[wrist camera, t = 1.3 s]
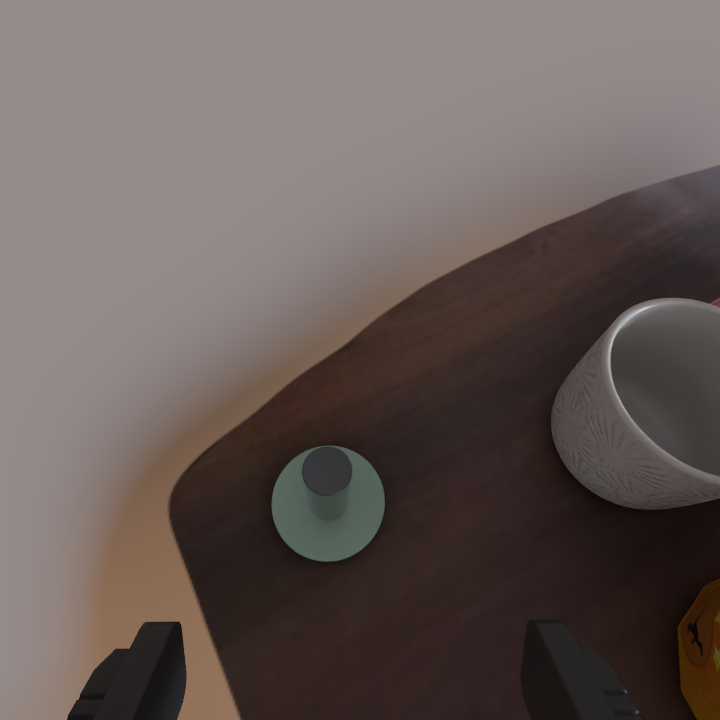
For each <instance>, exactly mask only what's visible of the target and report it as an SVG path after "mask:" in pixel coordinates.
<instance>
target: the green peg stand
mask: <svg viewBox="0 0 720 720" xmlns="http://www.w3.org/2000/svg"><path fill="white" fill-rule="evenodd" d="M271 507H272V516H273V520H274V523H275V526H276V529H277V531H278V533H279V534H280V536H281V537H282V539H283V540H284V542H285V543H286V544H287V545H288V546H289V547H290V548H291V549H292V550H294V551H295V552H296V553H298V554H299V555H301V556H303V557H305V558H308V559H310V560H314V561H319V562H335V561H341V560H344V559H347V558H349V557H351V556H353V555H355V554H357V553H358V552H360V551H361V550H362V549H364V548H365V547H366V546H367V545H368V544H369V543H370V542H371V540H372V539H373V538H374V536H375V535H376V533H377V531H378V529H379V527H380V525H381V522H382V519H383V515H384V510H385V495H384V490H383V486H382V483H381V480H380V478H379V476H378V474H377V472H376V471H375V469H374V468H373V467H372V465H371V464H370V463H369V462H368V461H367V460H366V459H365V458H364V457H362V456H361V455H359V454H358V453H356V452H354V451H352V450H349V449H347V448H343V447H339V446H320V447H315V448H312V449H309V450H307V451H304V452H303V453H301V454H299V455H298V456H296V457H295V458H294V459H292V460H291V461H290V462H289V463H288V464H287V465H286V466H285V468H284V469H283V470H282V472H281V473H280V475H279V477H278V479H277V481H276V483H275V486H274V489H273V494H272V504H271Z"/></svg>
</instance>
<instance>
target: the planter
mask: <svg viewBox="0 0 720 720" xmlns="http://www.w3.org/2000/svg"><path fill="white" fill-rule="evenodd" d="M551 430H552V436H553V440H554V444H555V446H556V449H557V451H558V454H559V456H560V458H561V459H562V461H563V463H564V464H565V466H566V467H567V468H568V470H569V471H570V472H571V473H572V475H573V476H574V477H575V478H576V479H577V480H578V481H579V482H580V483H581V484H582V485H584V486H585V487H586V488H587V489H589V490H590V491H592V492H593V493H594V494H596V495H598V496H600V497H601V498H603V499H606V500H608V501H610V502H612V503H615V504H618V505H621V506H625V507H629V508H635V509H646V510H657V509H669V508H677V507H682V506H688V505H693V504H698V503H703V502H707V501H711V500H715V499H720V307H717V306H714V305H711V304H708V303H705V302H701V301H696V300H691V299H684V298H661V299H653V300H649V301H645V302H642V303H639V304H637V305H635V306H633V307H631V308H629V309H628V310H626V311H625V312H623V313H622V314H621V315H620V316H619V317H617V319H616V320H615V321H614V322H613V323H612V324H611V326H610V327H609V328H608V329H607V330H606V331H605V332H604V333H603V335H602V336H601V337H600V338H599V339H598V340H597V341H596V342H595V344H594V345H593V346H592V347H591V348H590V349H589V351H588V352H587V353H586V354H585V355H584V356H583V357H582V359H581V360H580V361H579V362H578V363H577V365H576V366H575V367H574V368H573V370H572V371H571V372H570V373H569V375H568V376H567V378H566V379H565V381H564V382H563V384H562V386H561V387H560V389H559V391H558V393H557V395H556V398H555V400H554V403H553V407H552V412H551Z"/></svg>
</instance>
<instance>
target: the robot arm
mask: <svg viewBox="0 0 720 720" xmlns="http://www.w3.org/2000/svg"><path fill="white" fill-rule="evenodd" d="M521 686H522V692H523V696H524V700H525V703H526V706H527V709H528V712H529V714H530V717H531V720H644V719H643V717H642V715H639V712H638V709H637V707H636V705H635V704H634V702H633V700H632V699H631V697H630V695H627V693H626V689H625V687H624V685H623V684H622V682H621V680H620V679H619V677H618V675H617V674H616V672H615V670H614V669H613V667H612V666H611V665H610V664H609V663H608V662H607V661H606V660H605V659H604V658H603V657H602V656H601V655H600V654H599V653H598V652H597V651H595V650H594V649H593V648H592V647H591V646H578V644H577V642H576V641H575V639H574V637H573V635H572V633H571V631H570V630H569V628H568V626H567V625H566V623H565V622H564V621H562V620H530V621H528V623H527V627H526V635H525V642H524V650H523V657H522V665H521ZM185 688H186V665H185V655H184V647H183V636H182V628H181V624H180V622H145V623H144V624H143V625H142V626H141V628H140V630H139V631H138V634H137V636H136V637H135V639H134V641H133V643H132V645H131V647H130V649H115V650H114V651H113V652H112V653H111V654H110V655H109V656H108V657H107V658H106V659H105V660H104V661H103V662H102V663H101V664H100V665H99V666H98V667H97V668H96V669H95V670H94V671H93V673H92V675H91V676H90V678H89V680H88V682H87V683H86V685H85V687H84V689H83V690H82V692H81V694H80V698H79V700H77V701H76V703H75V704H74V706H73V708H72V710H71V712H70V713H69V715H68V719H67V720H177V718H178V715H179V712H180V709H181V706H182V703H183V699H184V694H185Z"/></svg>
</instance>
